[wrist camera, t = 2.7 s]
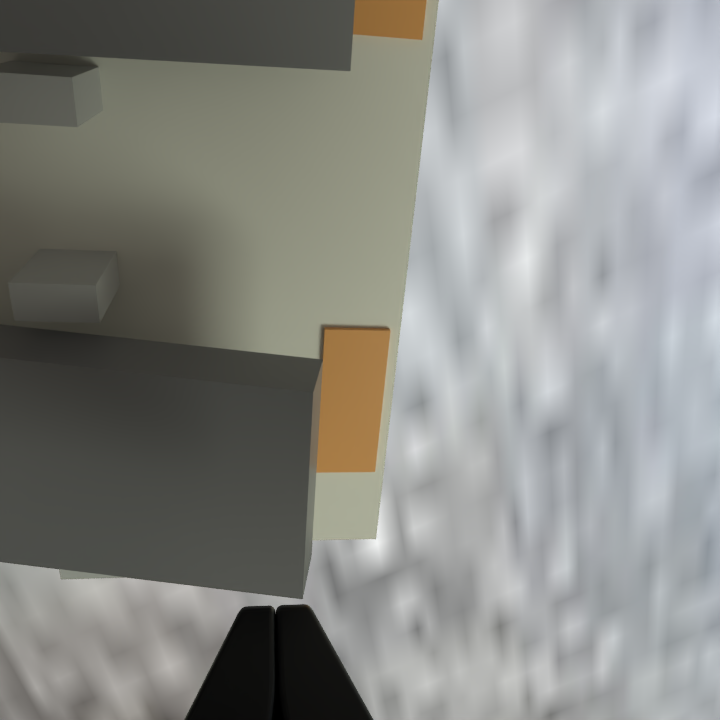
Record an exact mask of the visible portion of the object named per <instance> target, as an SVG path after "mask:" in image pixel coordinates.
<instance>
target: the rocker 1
mask: <svg viewBox="0 0 720 720" xmlns="http://www.w3.org/2000/svg"><path fill="white" fill-rule="evenodd" d="M354 9H355V0H0V52H15V53H33V54H51V55H69V56H86V57H104V58H122V59H140V60H158V61H175V62H193V63H211V64H229V65H247V66H265V67H282V68H300V69H318V70H336V71H351V55H352V40H353V25H354Z"/></svg>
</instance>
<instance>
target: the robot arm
mask: <svg viewBox="0 0 720 720" xmlns="http://www.w3.org/2000/svg"><path fill="white" fill-rule="evenodd" d="M185 720H373V718H372V716H371V715H370V713H369V711H368V709H367V707H366V706H365V704H364V702H363V700H362V698H361V697H360V695H359V693H358V691H357V689H356V688H355V686H354V684H353V682H352V680H351V678H350V677H349V675H348V673H347V671H346V669H345V668H344V666H343V664H342V662H341V660H340V659H339V657H338V655H337V653H336V651H335V650H334V648H333V646H332V644H331V642H330V641H329V639H328V637H327V635H326V633H325V632H324V630H323V628H322V626H321V624H320V622H319V621H318V619H317V617H316V615H315V613H314V612H313V610H312V609H311V608H310V606H308V605H305V604H301V605H281V606H279V607H278V608H277V610H276V614H275V609H274V608H273V607H272V606H248V607H244V608H242V609H241V610H240V611H239V613H238V615H237V617H236V619H235V621H234V623H233V625H232V627H231V629H230V631H229V632H228V634H227V636H226V638H225V640H224V642H223V644H222V646H221V648H220V650H219V652H218V654H217V656H216V658H215V660H214V662H213V664H212V666H211V668H210V670H209V672H208V674H207V676H206V678H205V680H204V682H203V684H202V686H201V688H200V690H199V692H198V694H197V696H196V698H195V700H194V702H193V704H192V706H191V708H190V710H189V712H188V714H187V716H186V718H185Z"/></svg>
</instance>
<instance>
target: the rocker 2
mask: <svg viewBox="0 0 720 720" xmlns="http://www.w3.org/2000/svg"><path fill="white" fill-rule="evenodd" d="M322 367H323V359H314V358H305V357H296V356H286V355H277V354H268V353H259V352H250V351H241V350H231V349H222V348H213V347H204V346H195V345H185V344H176V343H167V342H158V341H149V340H139V339H130V338H121V337H112V336H103V335H93V334H84V333H75V332H66V331H57V330H48V329H38V328H29V327H20V326H11V325H2V324H0V562H5V563H13V564H21V565H29V566H38V567H46V568H54V569H62V570H70V571H78V572H86V573H94V574H103V575H111V576H119V577H127V578H135V579H143V580H151V581H159V582H167V583H176V584H184V585H192V586H200V587H208V588H216V589H224V590H232V591H241V592H249V593H257V594H265V595H273V596H281V597H289V598H297V599H303V594H304V589H305V585H306V580H307V575H308V570H309V565H310V561H311V555H312V538H313V521H314V504H315V487H316V470H317V452H318V435H319V418H320V401H321V384H322Z"/></svg>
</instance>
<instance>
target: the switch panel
mask: <svg viewBox="0 0 720 720" xmlns="http://www.w3.org/2000/svg"><path fill="white" fill-rule="evenodd" d="M438 2H439V0H355V9H354V25H353V40H352V55H351V71H336V70H318V69H300V68H282V67H265V66H247V65H229V64H211V63H193V62H175V61H158V60H140V59H122V58H104V57H86V56H69V55H51V54H33V53H15V52H0V324H2V325H11V326H20V327H29V328H38V329H48V330H57V331H66V332H75V333H84V334H93V335H103V336H112V337H121V338H130V339H139V340H149V341H158V342H167V343H176V344H185V345H195V346H204V347H213V348H222V349H231V350H241V351H250V352H259V353H268V354H277V355H286V356H296V357H305V358H314V359H323V367H322V384H321V401H320V418H319V435H318V452H317V470H316V487H315V504H314V521H313V538H312V540H347V539H376V533H377V525H378V516H379V508H380V499H381V490H382V482H383V473H384V465H385V456H386V448H387V439H388V430H389V422H390V413H391V405H392V396H393V387H394V379H395V370H396V362H397V353H398V345H399V336H400V327H401V319H402V310H403V302H404V293H405V285H406V276H407V267H408V259H409V250H410V242H411V233H412V225H413V216H414V207H415V199H416V190H417V182H418V173H419V165H420V156H421V147H422V139H423V130H424V122H425V113H426V105H427V96H428V87H429V79H430V70H431V62H432V53H433V45H434V36H435V27H436V19H437V10H438ZM59 572H60V577H61V579H89V578H123V577H119V576H111V575H103V574H94V573H86V572H78V571H70V570H62V569H59Z"/></svg>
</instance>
